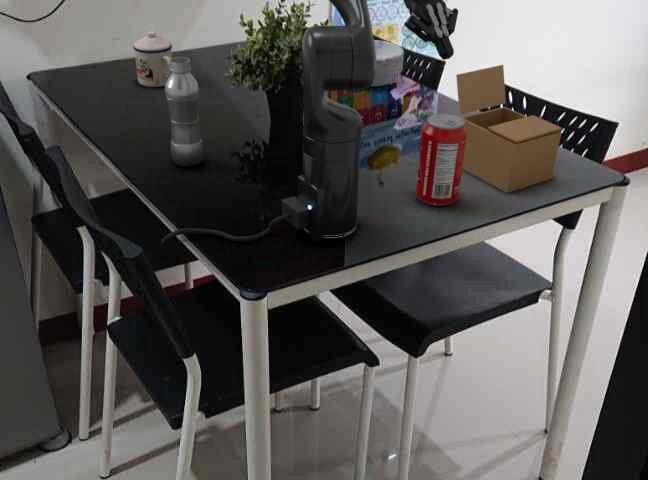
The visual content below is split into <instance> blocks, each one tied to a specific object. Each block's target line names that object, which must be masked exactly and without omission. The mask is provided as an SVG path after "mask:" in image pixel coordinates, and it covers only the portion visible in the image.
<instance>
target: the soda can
mask: <svg viewBox="0 0 648 480" xmlns="http://www.w3.org/2000/svg"><path fill="white" fill-rule="evenodd" d="M464 124H465V121H464V120H463V119H462V117H461V116H458V115H455V114H450V113H434V114H432V115H429V116H428V117H427V118H426V121H425V123H424V124H423V125H422V127H421V134H420V142H419V143H420V144H419V153H418V162H417V171H416V183H415V196H416V195H417V196H418V197H419V198H418V197H417V196H416V197H417V198H418V199H419V200H420V201H421V202H423V203H425V204H427V205H429V206H435V207H442V206H447V205H450V204H453V203H455V202H456V201H457V200H458V199H459V197H460V196H459V195H460V190H461V189H460V188H461V182H462V181H461V180H462V174H463V169H462V168H463V161H464V154H465V146H466V139H467V129H466V127H465V125H464ZM421 199H422V200H421ZM434 203H436V204H434Z"/></svg>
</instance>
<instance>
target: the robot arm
mask: <svg viewBox="0 0 648 480" xmlns="http://www.w3.org/2000/svg"><path fill="white" fill-rule="evenodd" d="M328 1H329V2H330V3H331V4H332V6H333V7H334V8H335V10H336V11H337V12H338V14H339V16H340V17H341V19H342V21H343V23H344V25H312V26H309V27H307V29H306V30H305V31H304V34H303V37H302V45H301V68H302V89H303V91H302V92H303V120H302V123H303V124H302V174H301V175H298V176H297V195H296V196H297V197H296V196H291V197H287V198H282V199H281V201H280V203H281V215H280V216H277V217H275V218H274V219H272V220H271V221H270V222H269V224H268V227H267V228H265V229H264V230H263V231H262V232H259V233H257V234H254V235H253V234H252V235H247V236H246V235H245V236H236V235H232V234H229V233H227V232H225V231H222V230H218V229H207V228H194V227H193V228H192V227H186V228H185V227H184V228H180V229H176V230H174V231H172V232H170V233H168V234H166V236H164V237H163V238H162V239H161V241H160V243H161V244H162V243H163V244H166V243H167V242H169V241H170V240H171V239H174V238H175V237H177V236H180V235H184V234H197V235H198V234H200V235H213V236H218V237H221V238H224V239H227V240H229V241H232V242H241V243H243V242H244V243H245V242H253V241H257V240H259V239H261V238H263V237H265V236H267V235H268V234H270V233H271V232H272V231H273V230H274V227H275V225H277V224H279V223H280V222H282V221H286V222H288V223H289V224H290V225H291V226H293V227H294V228H295V229H296V230H300V231H301V232H302V233H304V234H305V235H306V236H308V237H309V238H310V239H311V240H313V241H314V242H315V243H319V242H337V241H344V240H346V239H349V238H350V237H353V236H354V235H355V233H356V232H357V230H358V205H359V204H358V203H359V185H360V165H361V149H362V132H363V119H362V115H361V114H360V113H359V111H357V110H356V109H354V108H353V107H350V106H348V105H345V104H342V103H340V102H337V101H335V100H333V99H331V98H329V96H327V95H326V94H325V92H356V91H363V90H368V89H369V88H370V87H372V86H371V85H372V83H373V81H374V78H375V74H376V51H375V43H374V40H375V39H374V33H373V32H374V31H373V27H372V21H371V17H370V12H369V5H368V0H328ZM403 3H404V5H405V8H406V9H407V10H408V13H409V17H408V18H407V19H406V21H405V22H404V24H403V25H404V27H405V28H406V29H408V30H409V31H410V32H411V33H413V34H414V35H415V36H417V37H418V38H419V39H420V40H421V41H423V42H424V43H428V42H429V43H431V44H433V45H434V47H435V50H436V51H437V53H438V56H439V57H440V58H441V60H443V61H445V60H449V59H451V58H452V57H453V56H454V52H455V49H454V47H453V45H452V42H451V39H450V37H451V35H453V33H454V32H455V30H456V26H457V21H458V17H459V15H458V14H459V9H457V8H455V7H454V8H453V9H451V8H449V7H448V6H447V4H446V2H445V1H444V0H403ZM356 226H357V227H356ZM355 228H356V229H355ZM354 229H355V230H354ZM352 230H354V231H353V232H351V231H352ZM309 232H310V233H309ZM350 232H351V233H350ZM347 233H349V234H347ZM312 234H313V235H314V236H313V235H312ZM342 234H347V235H344V236H339V237H319V236H338V235H342ZM316 237H319V238H316ZM168 380H169V381H170V377H169V375H168V376H165V377H164V382H165V381H168Z"/></svg>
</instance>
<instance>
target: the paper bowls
mask: <svg viewBox="0 0 648 480" xmlns="http://www.w3.org/2000/svg"><path fill="white" fill-rule="evenodd" d="M374 43H375V51H376V74H375V78H374V81H373V83H372V85H371V86H370V87H373V88H375V87H382V86H386V85H388V84H389V83H391V82H392V81H393V79H394V77H395V76H398V75H400V74H401V73H402V72H403V69H404V55H405V51H404V49H403V48H402V46H400V45H398V44H396V43H393V42H391V41H386V40H378V39H374Z"/></svg>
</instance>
